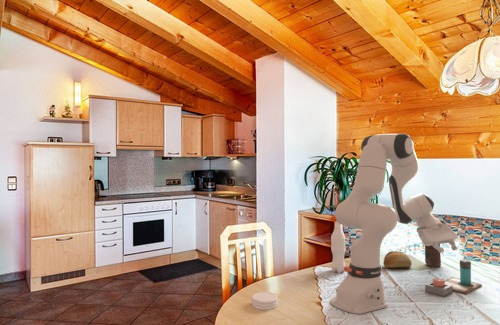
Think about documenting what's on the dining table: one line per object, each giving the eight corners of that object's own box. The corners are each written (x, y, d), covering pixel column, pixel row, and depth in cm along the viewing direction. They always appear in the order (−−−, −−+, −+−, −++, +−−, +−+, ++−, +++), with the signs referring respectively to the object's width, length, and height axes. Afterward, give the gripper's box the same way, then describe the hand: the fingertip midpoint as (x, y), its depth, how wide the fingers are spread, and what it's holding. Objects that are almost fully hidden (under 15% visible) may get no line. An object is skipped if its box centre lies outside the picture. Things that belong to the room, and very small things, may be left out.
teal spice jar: (468, 286, 149) (468, 263, 149) (458, 283, 153) (457, 261, 153) (472, 284, 152) (472, 261, 152) (462, 281, 155) (462, 259, 155)
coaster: (262, 298, 142) (262, 289, 142) (282, 304, 136) (282, 295, 136) (246, 306, 135) (246, 297, 135) (266, 313, 128) (266, 303, 128)
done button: (441, 290, 143) (441, 282, 143) (430, 287, 146) (430, 280, 146) (446, 287, 146) (446, 280, 146) (435, 284, 149) (435, 277, 149)
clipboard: (465, 294, 143) (465, 292, 143) (436, 286, 153) (436, 284, 153) (481, 285, 153) (481, 283, 153) (452, 278, 162) (452, 276, 162)
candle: (421, 263, 186) (421, 226, 186) (432, 262, 188) (432, 225, 188) (433, 268, 179) (432, 229, 179) (444, 266, 181) (443, 228, 181)
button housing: (443, 297, 141) (443, 289, 141) (425, 291, 147) (425, 284, 147) (452, 292, 145) (452, 285, 145) (434, 287, 151) (433, 280, 151)
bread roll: (378, 265, 184) (378, 250, 184) (404, 263, 187) (404, 248, 187) (389, 271, 175) (389, 255, 175) (415, 269, 178) (415, 253, 178)
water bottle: (344, 269, 178) (344, 220, 178) (347, 273, 171) (346, 223, 171) (330, 269, 179) (329, 220, 179) (332, 273, 172) (331, 223, 172)
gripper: (419, 224, 161) (438, 249, 152) (447, 220, 170) (467, 244, 161) (410, 231, 165) (429, 257, 156) (439, 228, 174) (458, 252, 165)
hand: (449, 250), depth 159 cm, fingers open, 8 cm apart
